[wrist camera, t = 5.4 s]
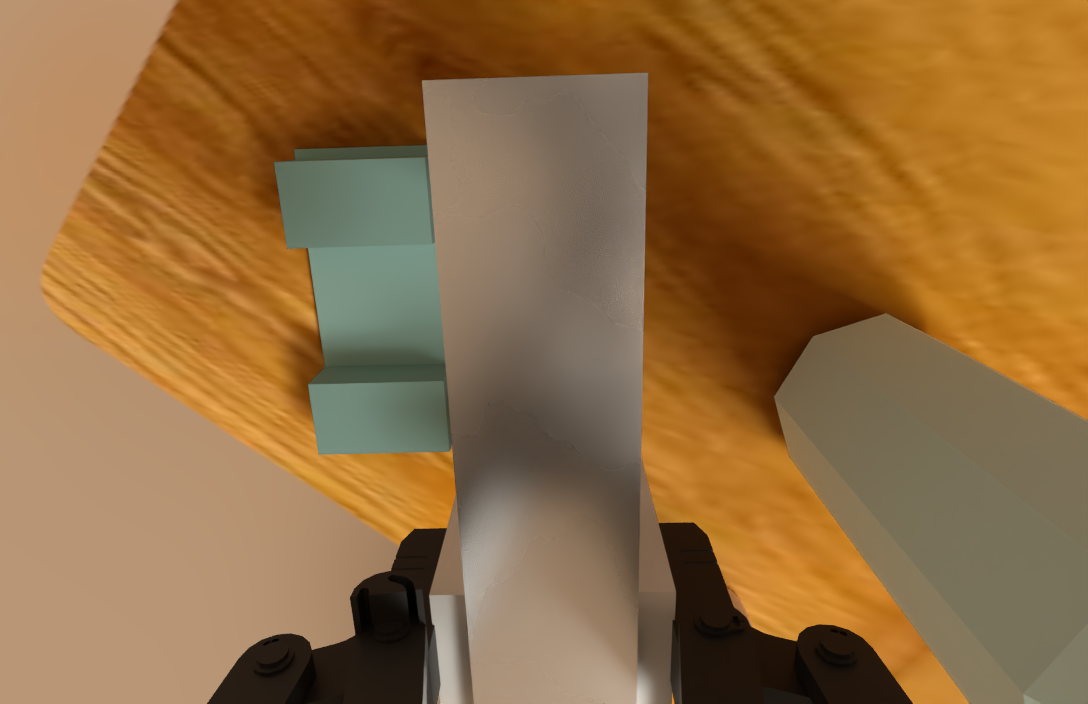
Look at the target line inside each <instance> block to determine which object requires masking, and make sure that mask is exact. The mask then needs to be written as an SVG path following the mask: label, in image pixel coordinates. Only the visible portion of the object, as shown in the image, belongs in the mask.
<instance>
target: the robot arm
mask: <svg viewBox="0 0 1088 704" xmlns="http://www.w3.org/2000/svg"><path fill="white" fill-rule="evenodd" d="M350 600H351V607H352V613H353V620H354V627H355V636H353V637H351V638H349V639H348V640H346V641H343V642H340V643H337V644H334V645H330V646H326V647H322V648H318V649H314V650H312V649H311V646H310V642H308V641H307V640H306V639H305V638H304V637H303V636H299V635H295V634H280V635H275V636H272V637H269V638H266V639H263V640H261V641H259V642H258V643H256V644H254V645H253V646H251V647H250V648H249V649H248V650H247V651H246V652H245V653H244V654H243V655H242V656H241V657H240V658H239V659H238V660H237V662H236V663H235V665H234V666H233V668H232V669H231V670H230V672H229V673H228V675H227V676H226V677H225V679H224V680H223V682H222V683H221V685H220V686H219V687H218V689H217V690H216V692H215V693H214V694H213V696H212V697H211V699H210V700H209V702H208V703H207V704H437V700H438V696H439V694H440V703H441V704H474V700H473V688H472V676H471V664H470V652H469V640H468V628H467V616H466V604H465V592H464V580H463V568H462V556H461V544H460V532H459V520H458V508H457V496H456V497H455V501H454V504H453V508H452V512H451V516H450V519H449V523H448V527H447V528H439V529H414V530H413V531H412V532H411V533H410V534H409V535H408V536H407V537H406V538H405V539H404V540H403V541H402V542H401V544H400V547H399V550H398V552H397V555H396V560H394V563H393V566H392V570H391V571H388V572H384V573H379V574H376V575H374V576H371V577H369V578H367V579H365V580H364V581H362V582H361V583H360V584H359V585H358V586H357V587H356V588H355V589H354V591H353V593H352V595H351V597H350ZM672 691H673V696H674V701H675V704H913V703H912V702H911V700H910V699H909V697H908V696H907V695H906V693H905V692H904V691H903V689H902V688H901V686H900V685H899V684H898V682H897V681H896V680H895V678H894V677H893V675H892V674H891V673H890V671H889V670H888V669H887V667H886V666H885V664H884V663H883V662H882V660H881V659H880V658H879V656H878V655H877V653H876V652H875V651H874V649H873V648H872V647H871V646H870V645H869V644H868V643H867V642H866V641H865V640H864V639H863V638H862V637H860V636H858V635H856V634H855V633H853V632H851V631H850V630H847V629H844V628H841V627H837V626H834V625H820V624H819V625H815V626H811V627H807V628H806V629H805V630H803V631H802V632H801V633H800V634H799V636H798V640H797V641H792V640H788V639H784V638H779V637H775V636H772V635H768V634H765V633H762V632H760V631H758V630H756V629H754V628H753V627H751V626H750V624H749V621H748V619H747V618H746V617H745V616H744V615H743V614H742V613H741V612H740V611H739V610H738V609H736V608H734V606H733V603H732V600H731V598H730V595H729V592H728V590H727V587H726V584H725V581H724V579H723V576H722V573H721V571H720V568H719V565H717V560H716V557H715V555H714V553H713V549H712V546H711V544H710V541H709V538H708V536H707V534H705V533H704V532H703V531H702V530H701V529H700V528H699V527H698V526H697V525H696V524H695V523H658V520H657V516H656V512H655V508H654V504H653V500H652V497H651V493H650V489H649V485H648V481H647V477H646V473H645V470H644V466H643V462H642V458H641V489H640V543H639V598H638V652H637V704H672Z"/></svg>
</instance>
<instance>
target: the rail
mask: <svg viewBox="0 0 1088 704" xmlns="http://www.w3.org/2000/svg"><path fill="white" fill-rule="evenodd" d="M422 90H423V102H424V114H425V126H426V138H427V150H428V161H429V173H430V185H431V197H432V209H433V221H434V233H435V245H436V257H437V269H438V281H439V293H440V305H441V317H442V329H443V341H444V353H445V365H446V377H447V389H448V401H449V413H450V425H451V437H452V448H453V460H454V472H455V484H456V496H457V508H458V520H459V532H460V544H461V556H462V568H463V580H464V592H465V604H466V616H467V628H468V640H469V652H470V664H471V676H472V688H473V700H474V704H637V652H638V598H639V543H640V489H641V435H642V380H643V326H644V272H645V218H646V163H647V109H648V73H623V74H594V75H565V76H536V77H507V78H477V79H448V80H422Z"/></svg>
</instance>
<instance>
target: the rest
mask: <svg viewBox="0 0 1088 704" xmlns="http://www.w3.org/2000/svg"><path fill="white" fill-rule="evenodd" d="M294 154H295V160H289V161H280V162H274V166H275V173H276V179H277V186H278V192H279V199H280V205H281V212H282V219H283V225H284V232H285V238H286V245H287V249H291V248H308V252H309V259H310V266H311V273H312V280H313V287H314V294H315V301H316V308H317V315H318V322H319V329H320V336H321V343H322V350H323V357H324V364H325V367H324V368H323V369H322V370H321V371H320V372H319V373H318V375H317V376H316V377H315V378H314V379H313V380H312V381H311V382H310V383H309V384H308V388H309V395H310V401H311V408H312V415H313V421H314V428H315V434H316V441H317V447H318V454H319V455H320V454H364V453H408V452H450V449H451V445H452V437H451V425H450V413H449V401H448V389H447V377H446V365H445V353H444V341H443V329H442V317H441V305H440V293H439V281H438V269H437V257H436V245H435V233H434V221H433V209H432V197H431V185H430V173H429V161H428V150H427V145H411V146H380V147H349V148H318V149H294Z"/></svg>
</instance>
